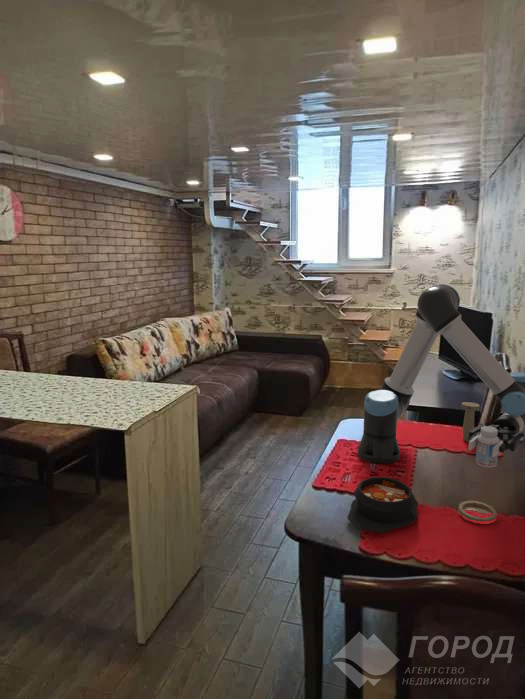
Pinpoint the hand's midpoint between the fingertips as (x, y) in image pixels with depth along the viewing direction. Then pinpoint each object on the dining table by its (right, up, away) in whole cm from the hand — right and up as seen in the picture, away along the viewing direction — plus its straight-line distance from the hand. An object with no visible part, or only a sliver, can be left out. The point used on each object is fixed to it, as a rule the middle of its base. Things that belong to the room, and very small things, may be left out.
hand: (481, 449), depth 144 cm
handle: (+16, -7, +50) cm, 53 cm away
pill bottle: (+4, -6, +5) cm, 8 cm away
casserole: (-29, -19, -2) cm, 35 cm away
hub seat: (-2, -18, -2) cm, 19 cm away
